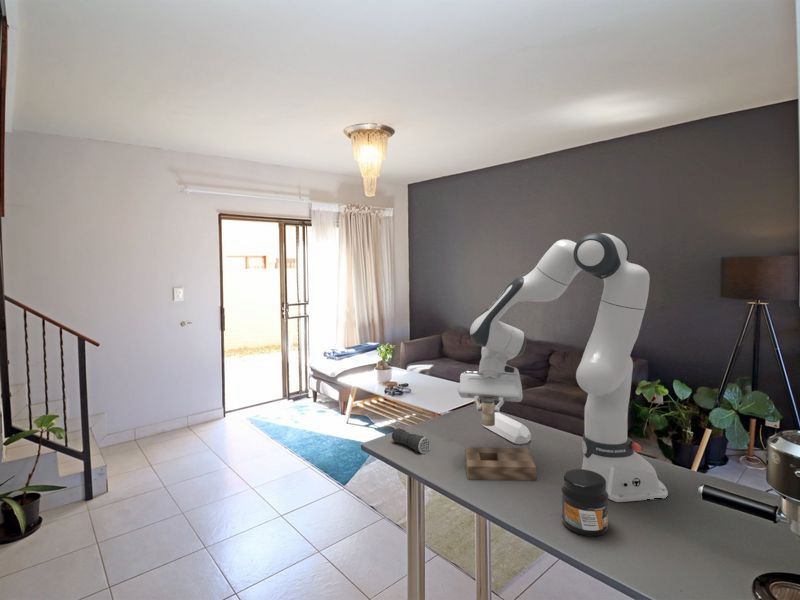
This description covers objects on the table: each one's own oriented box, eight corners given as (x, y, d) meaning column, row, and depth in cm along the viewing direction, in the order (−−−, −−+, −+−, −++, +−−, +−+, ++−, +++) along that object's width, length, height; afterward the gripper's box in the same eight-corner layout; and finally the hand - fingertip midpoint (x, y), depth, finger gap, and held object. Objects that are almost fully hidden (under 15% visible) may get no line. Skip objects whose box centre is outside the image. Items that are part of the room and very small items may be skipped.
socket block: (527, 459, 142) (526, 447, 142) (536, 480, 128) (535, 467, 128) (465, 458, 144) (465, 447, 144) (467, 479, 130) (467, 466, 130)
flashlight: (390, 443, 160) (389, 429, 159) (401, 439, 163) (400, 425, 163) (419, 455, 148) (419, 440, 148) (430, 450, 152) (430, 435, 152)
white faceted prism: (475, 416, 174) (513, 437, 152) (488, 405, 176) (527, 424, 154) (483, 430, 176) (522, 453, 154) (496, 419, 178) (536, 440, 156)
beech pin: (494, 421, 137) (493, 396, 137) (495, 426, 133) (495, 400, 133) (481, 421, 138) (480, 396, 137) (482, 426, 134) (481, 400, 133)
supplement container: (591, 544, 98) (591, 493, 98) (552, 522, 107) (552, 475, 106) (617, 527, 104) (617, 479, 103) (578, 508, 113) (578, 463, 112)
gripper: (459, 365, 145) (453, 403, 136) (522, 369, 137) (520, 408, 129) (462, 375, 149) (456, 412, 141) (524, 379, 142) (521, 418, 133)
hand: (487, 410), depth 135 cm, fingers closed on beech pin, 4 cm apart
